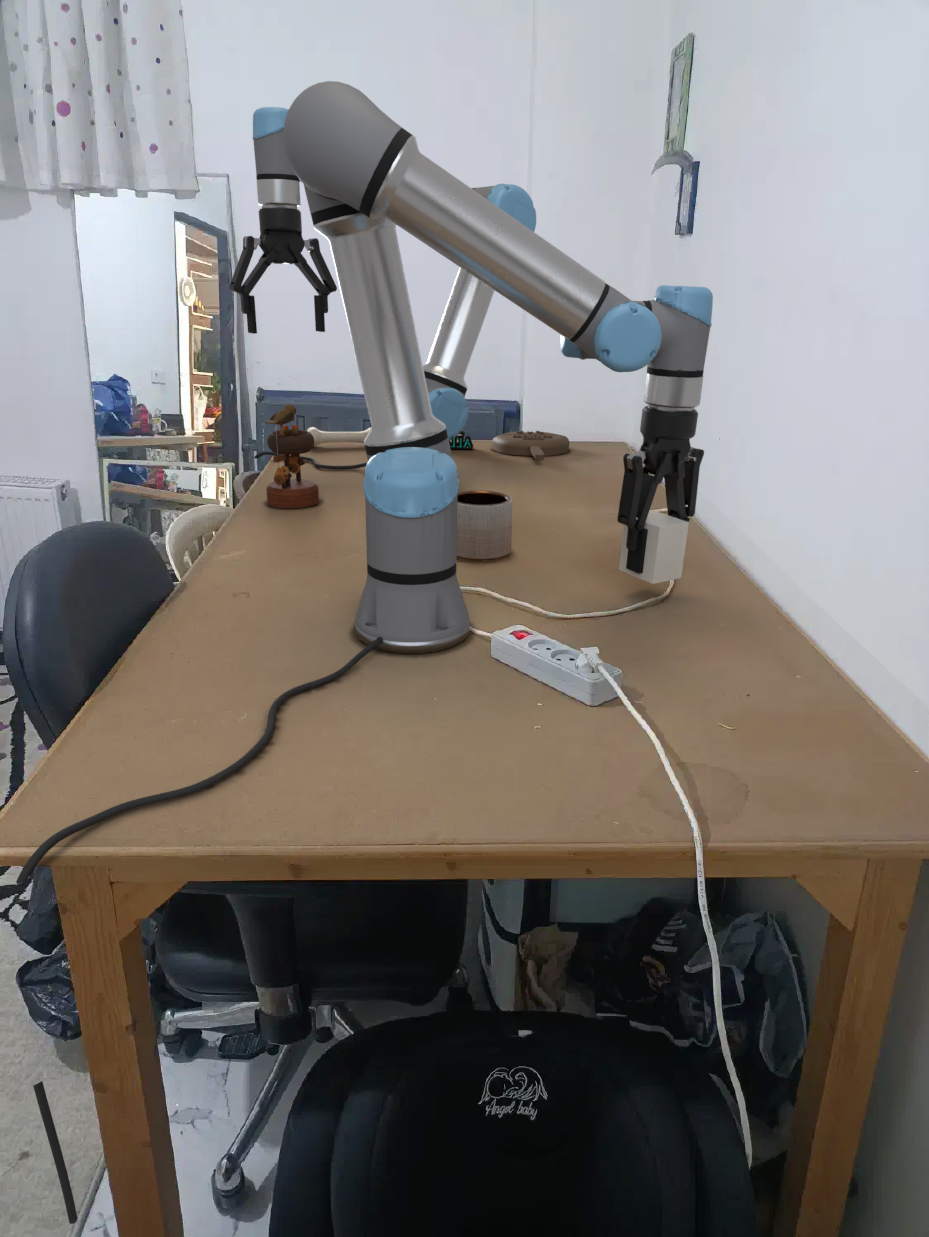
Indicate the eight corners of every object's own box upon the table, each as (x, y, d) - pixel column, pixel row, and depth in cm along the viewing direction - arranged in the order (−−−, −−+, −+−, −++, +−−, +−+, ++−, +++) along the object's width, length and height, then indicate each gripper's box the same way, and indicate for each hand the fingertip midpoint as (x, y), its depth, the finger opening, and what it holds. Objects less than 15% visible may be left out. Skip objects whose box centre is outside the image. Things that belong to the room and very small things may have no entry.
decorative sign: (473, 447, 231) (474, 391, 225) (472, 449, 229) (473, 392, 223) (404, 445, 232) (403, 389, 226) (403, 447, 230) (402, 390, 224)
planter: (440, 545, 148) (440, 491, 144) (498, 541, 151) (500, 488, 148) (458, 564, 139) (459, 507, 135) (520, 559, 142) (522, 503, 138)
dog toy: (379, 443, 235) (378, 424, 233) (380, 447, 230) (380, 428, 228) (305, 444, 232) (304, 425, 230) (305, 448, 226) (304, 429, 225)
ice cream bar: (498, 464, 211) (498, 448, 209) (490, 443, 237) (490, 428, 235) (581, 465, 212) (583, 448, 210) (564, 444, 238) (565, 429, 236)
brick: (646, 564, 129) (653, 510, 126) (681, 578, 123) (689, 522, 120) (618, 569, 126) (624, 514, 123) (652, 584, 120) (660, 527, 117)
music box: (311, 511, 168) (297, 408, 160) (258, 513, 169) (241, 411, 162) (331, 492, 182) (318, 397, 174) (282, 494, 183) (267, 400, 176)
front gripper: (697, 400, 123) (676, 551, 132) (600, 406, 114) (585, 569, 122) (738, 407, 117) (713, 565, 126) (639, 414, 108) (620, 585, 117)
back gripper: (334, 212, 161) (338, 329, 169) (204, 205, 149) (215, 332, 157) (351, 210, 155) (355, 332, 164) (217, 203, 143) (229, 335, 151)
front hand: (650, 567), depth 124 cm, fingers closed on brick, 6 cm apart
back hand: (287, 332), depth 160 cm, fingers open, 13 cm apart
